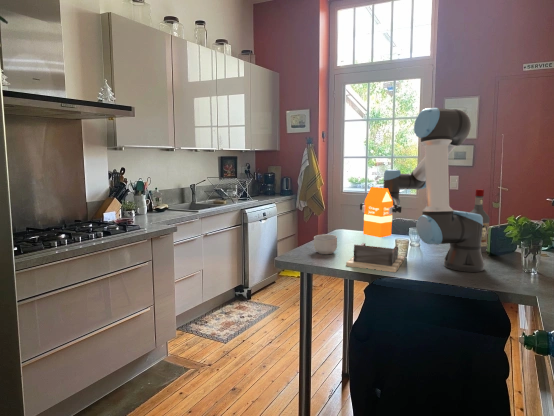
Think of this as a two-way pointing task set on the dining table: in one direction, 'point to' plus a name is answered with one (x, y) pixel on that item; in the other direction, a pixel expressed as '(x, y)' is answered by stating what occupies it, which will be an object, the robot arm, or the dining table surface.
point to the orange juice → (378, 213)
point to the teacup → (325, 243)
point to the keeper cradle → (376, 258)
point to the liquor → (479, 210)
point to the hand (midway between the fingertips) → (376, 210)
